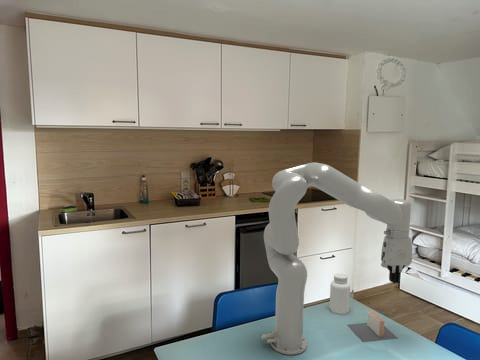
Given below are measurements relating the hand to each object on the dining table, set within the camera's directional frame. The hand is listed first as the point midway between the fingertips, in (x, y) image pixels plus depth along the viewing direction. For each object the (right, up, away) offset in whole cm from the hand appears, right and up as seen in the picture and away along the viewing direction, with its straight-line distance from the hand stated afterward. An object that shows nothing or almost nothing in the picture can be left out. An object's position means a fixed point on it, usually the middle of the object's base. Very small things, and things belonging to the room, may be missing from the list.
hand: (394, 281), depth 136 cm
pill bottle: (-16, -17, +18) cm, 29 cm away
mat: (-8, -19, +1) cm, 21 cm away
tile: (-7, -19, +1) cm, 20 cm away
